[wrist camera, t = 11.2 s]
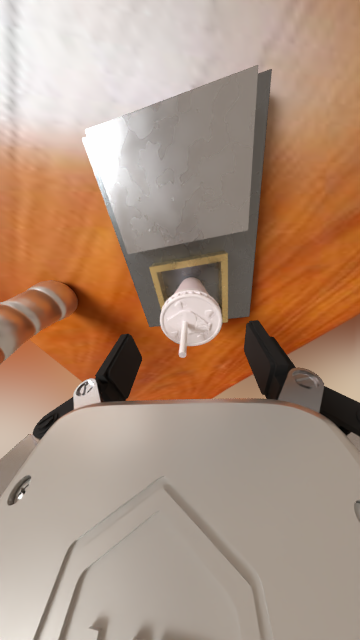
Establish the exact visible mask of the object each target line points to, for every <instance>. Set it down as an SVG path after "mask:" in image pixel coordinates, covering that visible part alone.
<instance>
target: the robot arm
mask: <svg viewBox="0 0 360 640" xmlns="http://www.w3.org/2000/svg"><path fill="white" fill-rule="evenodd" d="M244 352H245V355H246V357H247V359H248V362H249V364H250V367H251V369H252V371H253V374H254V376H255V379H256V381H257V384H258V386H259V388H260V391H261V393H262V394H263V395H265V396H266V398H267V399H185V400H146V401H125V400H126V398H128V396H129V394H130V391H131V388H132V386H133V383H134V380H135V377H136V375H137V372H138V369H139V367H140V364H141V361H142V356H141V354H140V352H139V350H138V348H137V346H136V344H135V342H134V340H133V338H132V336H131V335H129V334H122V335H121V336H120V338H119V339H118V341H117V342H116V344H115V345H114V347H113V349H112V350H111V352H110V353H109V355H108V356H107V358H106V360H105V361H104V363H103V364H102V366H101V367H100V369H99V371H98V372H97V374H96V375H95V376H96V378H95V379H87V380H85V381H84V382H82V383H81V384H80V385H79V386H78V387H77V388H76V389H75V391H74V395H73V397H72V398H71V399H69V400H68V401H66V402H65V403H63V404H62V405H60V406H59V407H57V408H56V409H54V410H53V411H51V412H50V413H48V414H47V415H45V416H44V417H43V418H42V419H41V420H40V421H39V422H38V423H37V425H36V426H35V428H34V431H33V434H32V435H31V434H28V435H27V436H26V437H25V438H24V439H23V440H22V441H21V442H19V444H17V445H16V446H15V447H14V448H13V449H12V450H10V451H9V452H8V453H7V454H6V455H5V456H4V457H3V458H2V459H0V640H360V403H359V402H357V401H354V400H353V399H350V398H348V397H346V396H344V395H342V394H340V393H338V392H336V391H334V390H331V389H329V388H327V387H325V386H324V383H323V381H322V379H321V378H320V377H319V376H318V375H317V374H315V373H314V372H312V371H310V370H307V369H304V368H296V367H295V366H294V364H293V363H292V362H291V360H290V359H289V357H288V356H287V355H286V353H285V352H284V351H283V349H282V348H281V346H280V345H279V344H278V342H277V341H276V340H275V338H274V337H269V335H268V334H267V332H266V331H265V329H264V328H263V326H262V325H261V324H260V322H259V321H258V320H256V321H249V323H247V324H246V334H245V345H244ZM355 502H356V503H355Z"/></svg>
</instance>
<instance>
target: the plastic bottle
mask: <svg viewBox="0 0 360 640" xmlns="http://www.w3.org/2000/svg"><path fill="white" fill-rule="evenodd" d="M77 306H78V299H77V296H76V294H75V293H74V291H73V290H72V289H71V288H70V287H69V286H67V285H65V284H63V283H61V282H57V281H52V280H51V281H44V282H40V283H38V284H36V285H34V286H32V287H31V288H29V289H28V290H27V291H25V292H23V293H21V294H19V295H17V296H15V297H13V298H11V299H9V300H7V301H4V302H1V303H0V364H1V363H2V362H3V361H4V360H6V359H7V358H8V357H9V356H10V355H11V354H12V353H14V352H15V351H16V350H17V349H18V348H19V347H20V346H21V345H22V344H23V343H25V342H26V341H28V340H29V339H30V338H32V337H33V336H34V335H35V334H37V333H38V332H39V331H41V330H43V329H44V328H46V327H48V326H50V325H51V324H53V323H55V322H57V321H59V320H62V319H64V318H66V317H68V316H70V315H71V314H72V313H73V312H74V311H75V310H76V309H77Z"/></svg>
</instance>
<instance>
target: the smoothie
mask: <svg viewBox="0 0 360 640" xmlns="http://www.w3.org/2000/svg"><path fill="white" fill-rule="evenodd" d="M160 325H161V328H162V330H163V332H164V333H165V335H166V336H167V337H168V338H169V339H171V340H172V341H174V342H176V343H178V344H180V348H179V356H180V357H182V358H184V357H186V349H187V346H197V345H202V344H205V343H207V342H209V341H210V340H212V339H213V338H214V337H215V336H216V335H217V334H218V333H219V331H220V329H221V326H222V314H221V309H220V307H219V304H218V303H217V302H216V300H215V299H214V298H213V297H211V296H210V295H209V294H208V293H207V291H206V289H205V288H204V286H203V284H202V283H201V281H200V280H199V279H197V278H194V277H189V278H186V279H185V280H183V281H182V283H181V284H180V286H179V287H178V289H177V290H176V292H175V293H174V295H172V296H171V297H170V298H169V299H168V300H167V301H166V302H165V304H164V305H163V307H162V311H161V315H160Z"/></svg>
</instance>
